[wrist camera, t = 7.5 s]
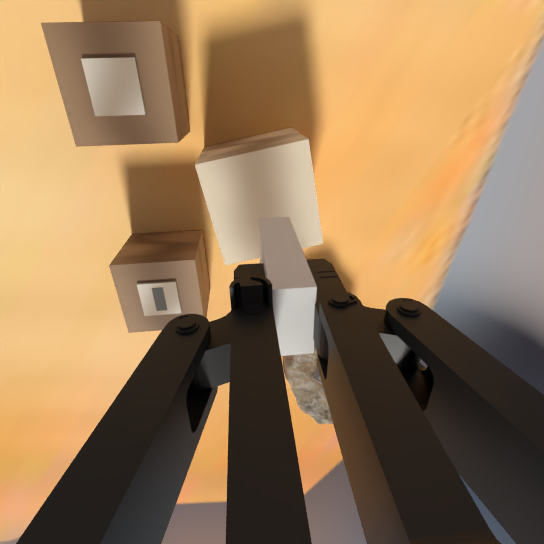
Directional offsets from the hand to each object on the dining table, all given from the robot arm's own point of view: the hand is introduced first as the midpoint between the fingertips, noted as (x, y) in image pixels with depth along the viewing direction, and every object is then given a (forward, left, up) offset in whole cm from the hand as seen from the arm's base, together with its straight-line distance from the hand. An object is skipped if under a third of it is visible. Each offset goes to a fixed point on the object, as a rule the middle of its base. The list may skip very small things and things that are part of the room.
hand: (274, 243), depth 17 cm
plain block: (0, 0, -13) cm, 13 cm away
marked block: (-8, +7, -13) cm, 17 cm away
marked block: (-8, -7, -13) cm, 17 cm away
